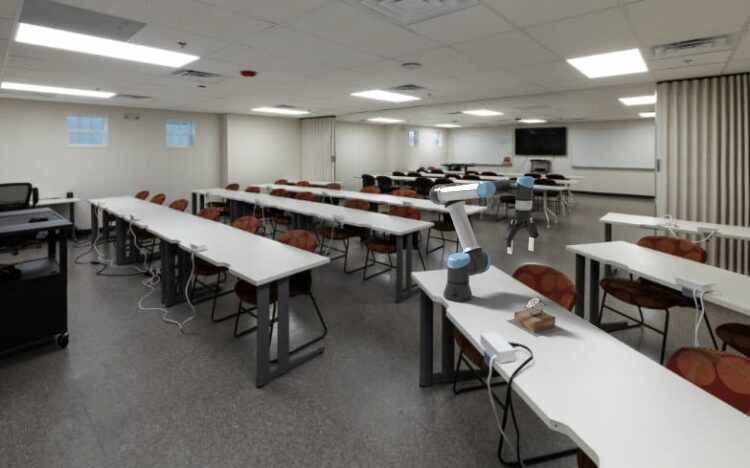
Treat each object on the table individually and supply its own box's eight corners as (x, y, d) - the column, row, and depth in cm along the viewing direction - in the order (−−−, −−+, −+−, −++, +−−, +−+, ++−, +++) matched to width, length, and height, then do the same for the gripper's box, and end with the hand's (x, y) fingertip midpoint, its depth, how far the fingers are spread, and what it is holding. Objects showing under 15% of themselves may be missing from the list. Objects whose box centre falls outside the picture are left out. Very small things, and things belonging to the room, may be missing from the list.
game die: (538, 323, 175) (550, 311, 168) (520, 316, 175) (531, 304, 168) (538, 308, 181) (550, 296, 174) (520, 301, 182) (531, 288, 174)
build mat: (505, 321, 181) (505, 320, 181) (531, 315, 188) (531, 314, 188) (536, 337, 165) (536, 336, 165) (563, 330, 172) (563, 329, 172)
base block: (514, 322, 179) (514, 312, 178) (533, 317, 184) (534, 307, 183) (534, 333, 169) (535, 322, 168) (554, 327, 173) (555, 317, 172)
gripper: (508, 211, 180) (506, 256, 184) (548, 208, 190) (545, 251, 194) (497, 209, 186) (495, 253, 191) (536, 206, 196) (533, 247, 201)
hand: (520, 252), depth 192 cm, fingers open, 13 cm apart
